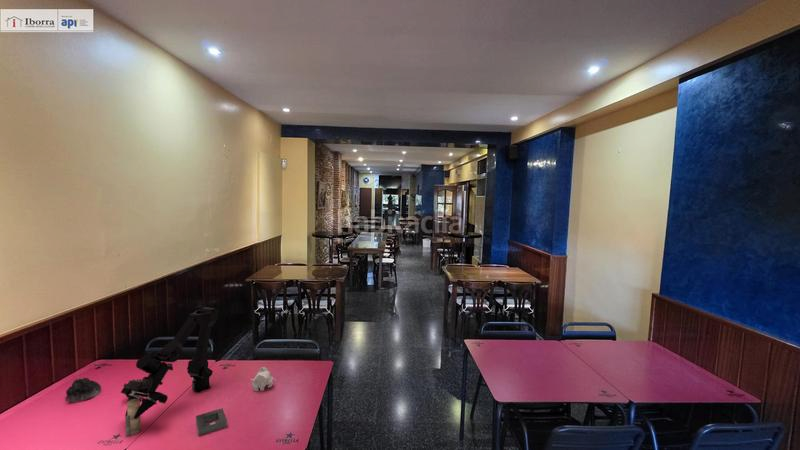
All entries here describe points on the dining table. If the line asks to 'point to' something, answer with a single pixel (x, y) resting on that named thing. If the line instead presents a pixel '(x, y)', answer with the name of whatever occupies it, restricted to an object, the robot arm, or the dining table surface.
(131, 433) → the keyed peg
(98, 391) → the dark grey rock
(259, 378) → the elephant figurine
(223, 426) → the block
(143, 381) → the robot arm
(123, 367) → the dining table surface
